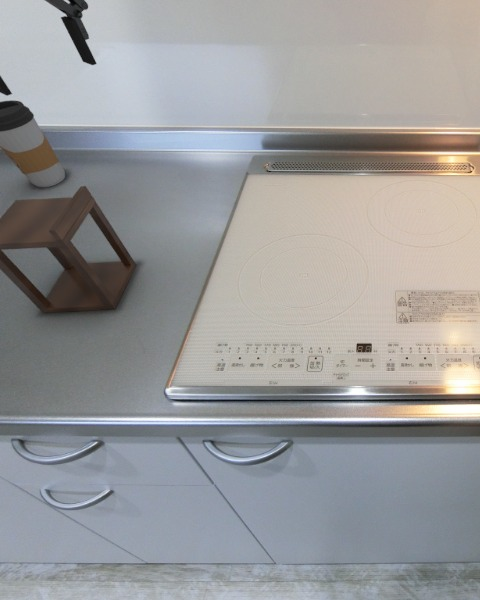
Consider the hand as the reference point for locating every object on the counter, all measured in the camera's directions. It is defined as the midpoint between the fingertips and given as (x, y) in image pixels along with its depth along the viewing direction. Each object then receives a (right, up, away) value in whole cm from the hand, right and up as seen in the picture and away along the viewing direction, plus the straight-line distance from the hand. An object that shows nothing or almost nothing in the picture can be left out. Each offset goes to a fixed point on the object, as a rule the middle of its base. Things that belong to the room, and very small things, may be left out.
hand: (49, 77), depth 69 cm
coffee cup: (-18, -10, +23) cm, 31 cm away
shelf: (+5, -33, +2) cm, 34 cm away
